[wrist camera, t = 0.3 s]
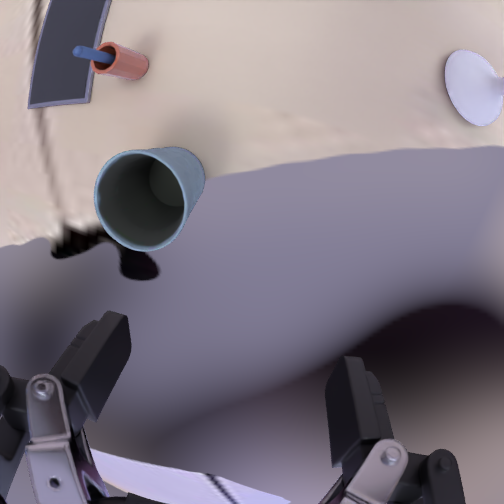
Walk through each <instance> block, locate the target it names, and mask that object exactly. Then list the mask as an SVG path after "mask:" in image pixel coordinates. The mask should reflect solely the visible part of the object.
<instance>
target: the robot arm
mask: <svg viewBox="0 0 504 504" xmlns="http://www.w3.org/2000/svg"><path fill="white" fill-rule="evenodd" d="M130 353H131V338H130V331H129V323H128V318H127V316H126V315H122V314H119V313H115V312H111V311H107V312H106V313H105V314H104V315H103V317H102V318H101V319H100V321H96V320H93V321H92V322H90V323H88V324H87V325H85V326H84V327H83V328H82V329H81V330H80V332H79V333H78V334H77V336H76V338H74V340H73V341H72V342H71V345H69V346H68V347H67V349H66V350H65V352H64V353H63V354H62V356H61V357H60V358H59V360H58V361H57V363H56V364H55V365H54V367H53V368H52V370H51V371H50V372H49V373H48V374H40V375H37V376H35V377H33V378H32V379H31V380H24V379H19V378H14V377H10V375H9V373H8V371H7V370H6V369H5V368H4V367H3V366H1V365H0V416H1V415H2V418H1V419H0V504H7V501H6V497H7V494H8V491H9V488H10V486H11V483H12V481H13V478H14V476H15V473H16V471H17V468H18V466H19V464H20V461H21V458H22V456H23V454H24V452H25V454H26V459H27V465H28V470H29V475H30V479H31V483H32V488H33V491H34V495H35V499H36V503H37V504H163V503H161V502H157V501H154V500H151V499H147V498H144V497H141V496H138V495H135V494H132V493H129V492H128V495H127V497H110V496H109V494H108V491H107V489H106V486H105V484H104V482H103V480H102V478H101V476H100V475H99V473H98V471H97V468H96V466H95V463H94V460H93V457H92V454H91V450H90V447H89V444H88V440H87V437H86V433H85V430H84V426H83V424H84V423H85V421H86V419H89V420H92V421H94V422H97V419H98V417H99V415H100V413H101V411H102V409H103V407H104V405H105V403H106V401H107V399H108V397H109V395H110V393H111V391H112V389H113V387H114V386H115V384H116V382H117V380H118V378H119V376H120V374H121V372H122V370H123V368H124V366H125V365H126V363H127V361H128V359H129V356H130ZM325 399H326V408H327V418H328V427H329V438H330V448H331V461H332V468H334V467H342V471H343V474H342V475H341V476H340V477H339V478H338V480H337V481H336V482H335V484H334V485H333V486H332V487H331V489H330V490H329V491H328V493H327V494H326V495H325V496H324V498H323V499H322V500H321V501H320V502H319V503H318V504H386V503H387V504H466V503H465V497H464V492H463V487H462V482H461V477H460V473H459V469H458V464H457V461H456V458H455V456H454V455H453V454H452V453H451V452H450V451H448V450H445V449H438V450H435V451H434V452H433V453H431V454H430V455H429V456H427V455H421V454H415V453H410V452H407V449H406V448H405V446H404V445H403V444H402V443H400V442H399V441H397V440H395V439H394V436H393V432H392V429H391V424H390V420H389V416H388V413H387V409H386V405H385V404H384V398H383V395H382V391H381V387H380V384H379V381H378V380H377V379H376V377H375V376H374V375H373V373H372V372H369V371H366V370H365V367H364V363H363V360H362V358H360V357H348V356H341V357H340V358H339V360H338V362H337V364H336V366H335V368H334V370H333V372H332V374H331V376H330V378H329V379H328V382H327V384H326V389H325ZM29 441H30V443H29Z"/></svg>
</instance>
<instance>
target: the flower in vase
mask: <svg viewBox="0 0 504 504" xmlns="http://www.w3.org/2000/svg"><path fill="white" fill-rule="evenodd" d="M445 83H446V88H447V91H448V94H449V97H450V99H451V101H452V103H453V104H454V106H455V108H456V109H457V110H458V112H459V113H460V114H461V115H462V116H463V117H464V118H465V119H466V120H467V121H469V122H470V123H472V124H474V125H478V126H486V125H489V124H491V123H492V122H494V121H495V120H496V119H497V118H498V116H499V114H500V112H501V109H502V104H503V95H504V77H498V76H497V74H496V72H495V71H494V69H493V68H492V66H491V65H490V64H489V63H488V62H487V61H486V60H485V59H484V58H483V57H482V56H480V55H479V54H477V53H475V52H472V51H469V50H457V51H455V52H454V53H452V54H451V55H450V57H449V58H448V60H447V63H446V67H445Z"/></svg>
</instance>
